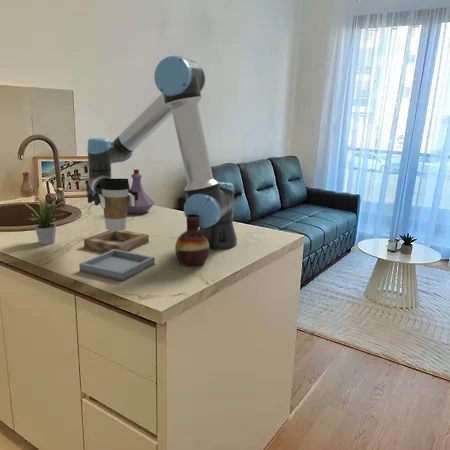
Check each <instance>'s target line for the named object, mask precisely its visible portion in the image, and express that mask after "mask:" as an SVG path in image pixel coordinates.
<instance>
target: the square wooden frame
mask: <svg viewBox="0 0 450 450" xmlns="http://www.w3.org/2000/svg"><path fill="white" fill-rule="evenodd" d="M149 236H150V235H149V234H148V233H147V234H145V233H140V232H137V231H129V230H126V229H124V230H120V231H111V230H106V231H103V232H100V233H98V234H95V235H92V236H89V237H86V238H84V239H83V244H84V245H83V246H84V248H86V249H91V250H97V251H101V252H104V253H106V252H108V251H111V250H113V249H117V250H122V251H127V252H132V251H133V250H135V249H137V248H140V247H141V246H142V247H143V246H144V245H146V244H149V239H150V238H149ZM115 239H116V240H119V239H120V241H122V242H114V241H113V240H115Z"/></svg>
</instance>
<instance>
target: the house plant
mask: <svg viewBox="0 0 450 450" xmlns="http://www.w3.org/2000/svg"><path fill="white" fill-rule="evenodd" d="M42 200H43V202H42ZM56 201H58V199H56V200H53V202H52V203H51V205H48V203H47V202H46V200H45V199H44V198H42V199H39V202H38V203H39V213H40V215H39V214H38V212H37V211H36V210H35V209H34V208H33V207H32V206H30V205H28V204H26V203H24V205H25V206H27V207H28V208H29V209H30V210H31V211H33V213H34V214H35V215H34V214H33V213H30V214H31V217H29V218H27V219H28V220H31V221H34V222H36V224H37V225H35V226H34V229H35V232H36V235H37V239H38V243H39V244H40V245H45V246H46V245H52V244H54V243H56V232H57V224H56V223H55V221H57V219H58V218H59V217H60V216H61V217H62V215H64V214H66V212H65V213H60V214H56V211H57V210H59V209H60V208H64V207H65V206H59V205H61V204H63V203H64V201H61V202H58V203H56ZM58 206H59V207H58ZM54 214H55V215H54Z"/></svg>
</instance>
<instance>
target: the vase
mask: <svg viewBox="0 0 450 450" xmlns="http://www.w3.org/2000/svg"><path fill="white" fill-rule="evenodd" d="M199 217H200V216H199V215H196V214H189V215H187V218H186V230H185V231H184V232H182V233H181V234H180V235H179V236H178V237H177V239H176V242H175V244H174V252H175V256H176V258H177V260H178V262H180V264H182V265H186V266H189V267H191V266H192V267H193V266H201V265H202V264H204V263H205V262H206V261H207V259H208V256H209V254H210V249H209V242H208V239H207V238H206V236H205V235H204V234H203V233H201V232H199Z"/></svg>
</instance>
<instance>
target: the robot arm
mask: <svg viewBox="0 0 450 450" xmlns="http://www.w3.org/2000/svg"><path fill="white" fill-rule="evenodd" d="M204 71H205V70H203V68H202V66H201V65H200V64H199V63H197V62H196V61H195V60H191V59H188V58H186V57H183V56H181V55H169V56H166V57H164V58H163V59H161V60H160V61H159V63H158V64H157V66H156V68H155V70H154V77H153V78H154V83H155V86H156V88H157V89H158V91H159V92H160V94H159V96H157V98H155V99H154V100H153V102H151V104H149V105H148V106H147V108H145V109H144V110H143V111H142V112H141V113H140V114H139V115H138V116H137V117H136V118H135V119H134V120H133V121H132V122H131V123H130V124H129V125H128V126H127V127H125V129H124V130H123V131H122V132H120V134H119V135H118V136H117V137H116V138H115V139H114V140H113V141H110V139H109V138H107V137H106V138H105V137H92V138H91V137H90V138H89V139H88V140H87V150H86V151H87V161H88V162H87V163H88V179H87V184H88V186H89V187H88V188H86V189H85V190H86V192H85V193H86V197H87V203H88V204H92V203H93V202H94V206H100V207H101V209H103V208H105V198H104V197H103V196H102V189H101V188H100V187H101V186H100V185H101V180H103V179H112V164H115V163H124V162H125V161H127V160H130V158H132V156H133V152H134V151H135V150H137V148H138V147H139V146H141V144H142V143H144V142H145V141H146V140H147V139H148V138H149V137H150V136H151V135H152V134H153V133H154V132H156V130H157V129H158V128H160V126H161V125H163V123H164V122H166V121H167V120H168V119H169V118H170V117H171V116H172V118H173V119H172V120H173V123H174V127H175V132H176V137H177V140H178V145H179V151H180V155H181V160H182V163H183V168H184V173H185V177H186V178H185V179H186V183H187V184H186V186H185V187H184V196H185V202H184V205H183V212H184V217H185V218H186V219H187V215H189V214H196V215H199V216H200V217H199V232H201V233H203V234H204V235H205V236H206V238H207V239H208V242H209V250H210V249H211V250H226V249H231V248H234V247H235V246H237V244H238V241H237V240H238V237H237V233H236V229H235V227H234V223H233V221H234V201H235V199H234V198H235V185H234V184H233V183H231V182H223V181H218V180H216V179H215V178H214V175H213V170H212V167H211V162H210V158H209V156H210V155H209V152H208V147H207V143H206V142H207V141H206V136H205V133H204V129H203V121H202V118H201V112H200V108H199V103H200V101H201V99H202V93H201V91H202V90H203V89H204V87H205V83H206V74H205V72H204ZM135 200H138V192H137V191H135V190H132V189H131V187H130V188H129V189H128V203H129V204H130V205H131V206H135V202H134V201H135Z"/></svg>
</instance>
